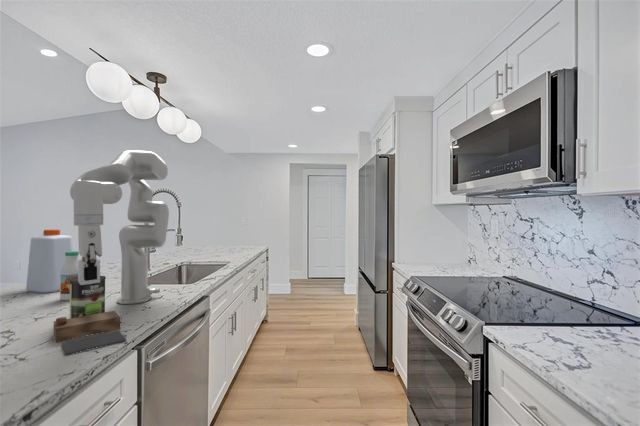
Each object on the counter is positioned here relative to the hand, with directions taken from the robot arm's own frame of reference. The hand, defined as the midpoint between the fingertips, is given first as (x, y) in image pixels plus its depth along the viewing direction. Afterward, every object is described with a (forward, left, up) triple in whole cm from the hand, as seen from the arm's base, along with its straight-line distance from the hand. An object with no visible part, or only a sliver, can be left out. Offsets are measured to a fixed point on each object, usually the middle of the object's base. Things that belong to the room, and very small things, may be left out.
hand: (89, 277), depth 101 cm
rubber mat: (0, +12, -17) cm, 21 cm away
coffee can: (-2, -15, -17) cm, 23 cm away
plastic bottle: (+4, -74, -17) cm, 76 cm away
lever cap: (0, 0, -2) cm, 2 cm away
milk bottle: (-1, -49, -17) cm, 51 cm away
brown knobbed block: (0, 0, -17) cm, 17 cm away
